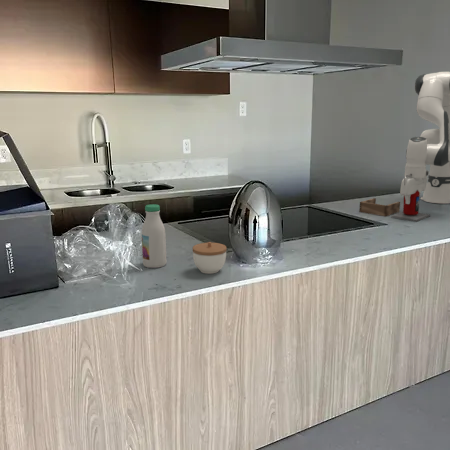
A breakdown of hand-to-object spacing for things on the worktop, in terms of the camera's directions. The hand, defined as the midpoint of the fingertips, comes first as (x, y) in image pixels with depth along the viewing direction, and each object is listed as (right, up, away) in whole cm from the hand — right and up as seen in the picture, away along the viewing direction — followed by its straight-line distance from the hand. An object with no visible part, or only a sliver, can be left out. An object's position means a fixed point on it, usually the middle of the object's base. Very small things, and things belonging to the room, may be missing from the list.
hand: (412, 202), depth 217 cm
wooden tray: (-11, -4, +13) cm, 17 cm away
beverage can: (0, -6, +2) cm, 6 cm away
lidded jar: (-93, -25, -70) cm, 119 cm away
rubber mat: (0, -7, +2) cm, 7 cm away
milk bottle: (-111, -24, -64) cm, 130 cm away
